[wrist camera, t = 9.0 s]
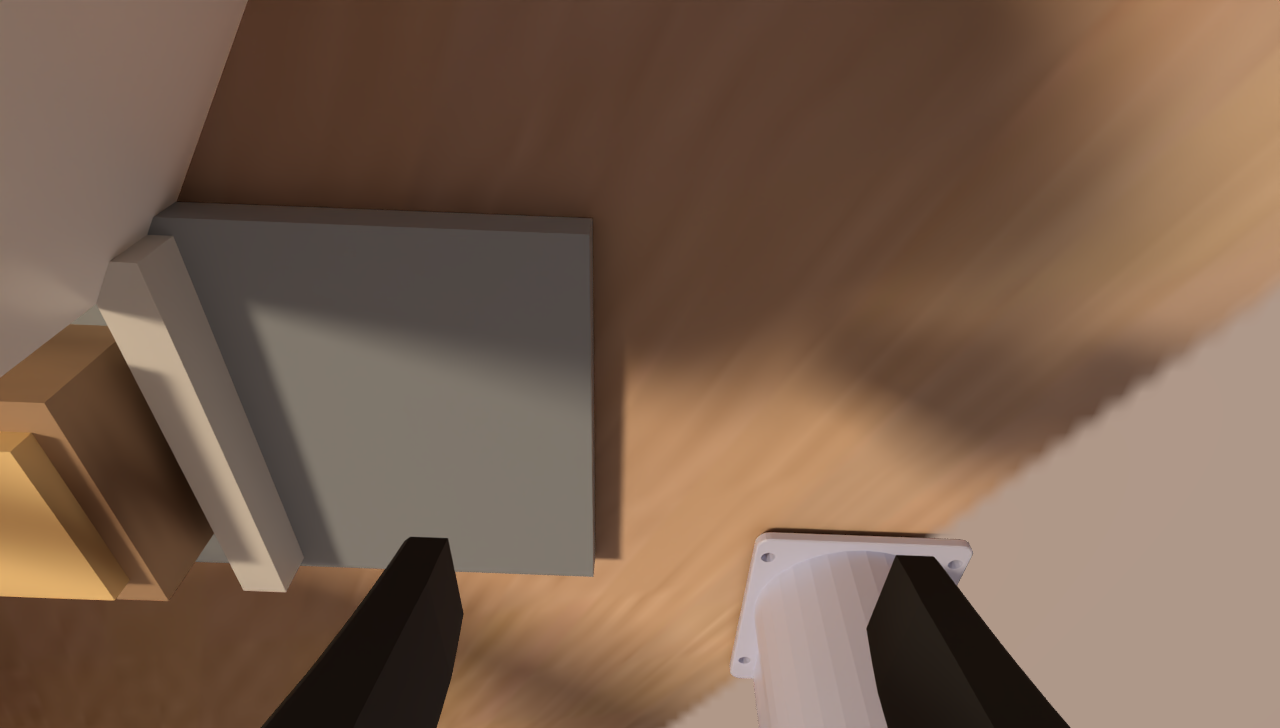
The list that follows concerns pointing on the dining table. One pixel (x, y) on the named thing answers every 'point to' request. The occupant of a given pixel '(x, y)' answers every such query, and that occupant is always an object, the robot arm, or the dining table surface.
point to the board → (368, 382)
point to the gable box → (93, 142)
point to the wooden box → (89, 480)
